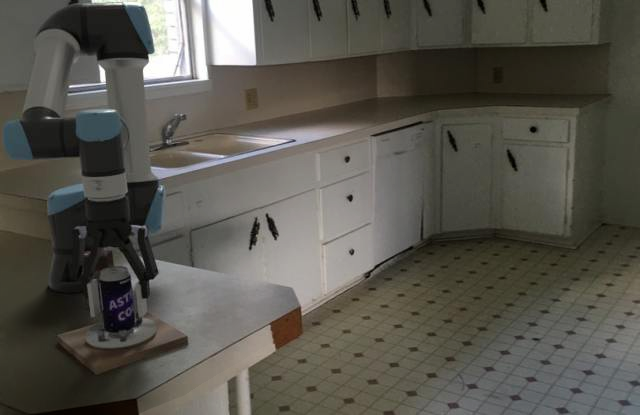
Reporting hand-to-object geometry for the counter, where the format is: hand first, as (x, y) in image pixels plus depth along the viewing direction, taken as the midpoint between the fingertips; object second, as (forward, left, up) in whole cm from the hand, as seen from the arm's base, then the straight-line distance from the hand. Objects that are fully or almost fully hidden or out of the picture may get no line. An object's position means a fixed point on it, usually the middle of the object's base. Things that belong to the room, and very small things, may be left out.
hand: (119, 314), depth 128 cm
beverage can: (0, 0, -4) cm, 4 cm away
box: (-21, +5, -6) cm, 22 cm away
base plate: (0, 0, -6) cm, 6 cm away
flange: (0, 0, -4) cm, 4 cm away
